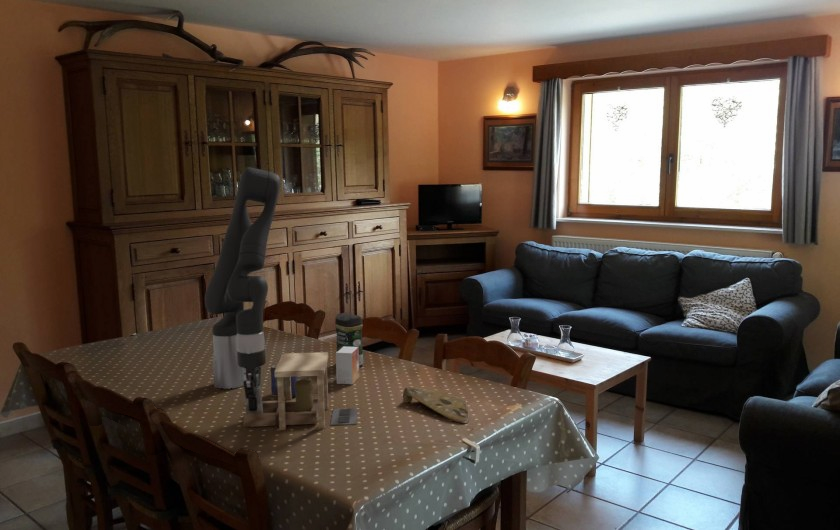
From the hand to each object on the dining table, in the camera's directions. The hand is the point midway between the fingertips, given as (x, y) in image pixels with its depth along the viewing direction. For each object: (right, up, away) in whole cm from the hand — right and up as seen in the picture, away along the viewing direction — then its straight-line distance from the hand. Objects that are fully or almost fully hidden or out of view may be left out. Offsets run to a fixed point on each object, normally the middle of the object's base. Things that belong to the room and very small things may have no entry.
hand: (254, 407), depth 186 cm
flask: (+4, -1, +21) cm, 21 cm away
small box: (+23, +2, +34) cm, 41 cm away
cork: (+14, -3, +2) cm, 14 cm away
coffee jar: (+21, +4, +51) cm, 55 cm away
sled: (+8, -3, +1) cm, 8 cm away
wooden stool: (+18, -3, +2) cm, 18 cm away
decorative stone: (+54, -2, +8) cm, 55 cm away
